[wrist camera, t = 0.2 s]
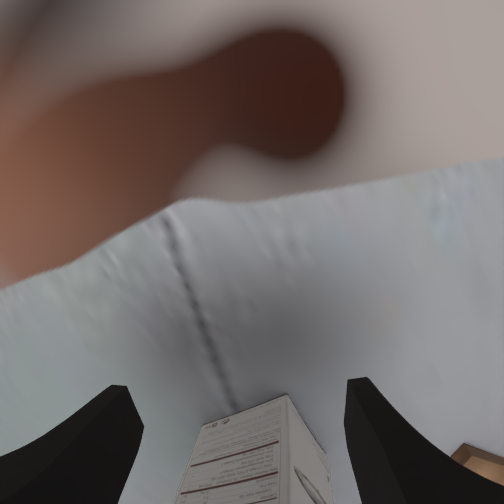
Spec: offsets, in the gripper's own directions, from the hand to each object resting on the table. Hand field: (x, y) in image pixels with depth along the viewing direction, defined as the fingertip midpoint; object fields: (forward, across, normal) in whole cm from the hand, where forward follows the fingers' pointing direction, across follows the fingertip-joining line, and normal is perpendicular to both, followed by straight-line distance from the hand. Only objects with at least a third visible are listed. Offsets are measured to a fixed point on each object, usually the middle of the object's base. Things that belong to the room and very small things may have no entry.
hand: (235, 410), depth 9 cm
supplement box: (+9, 0, +12) cm, 15 cm away
